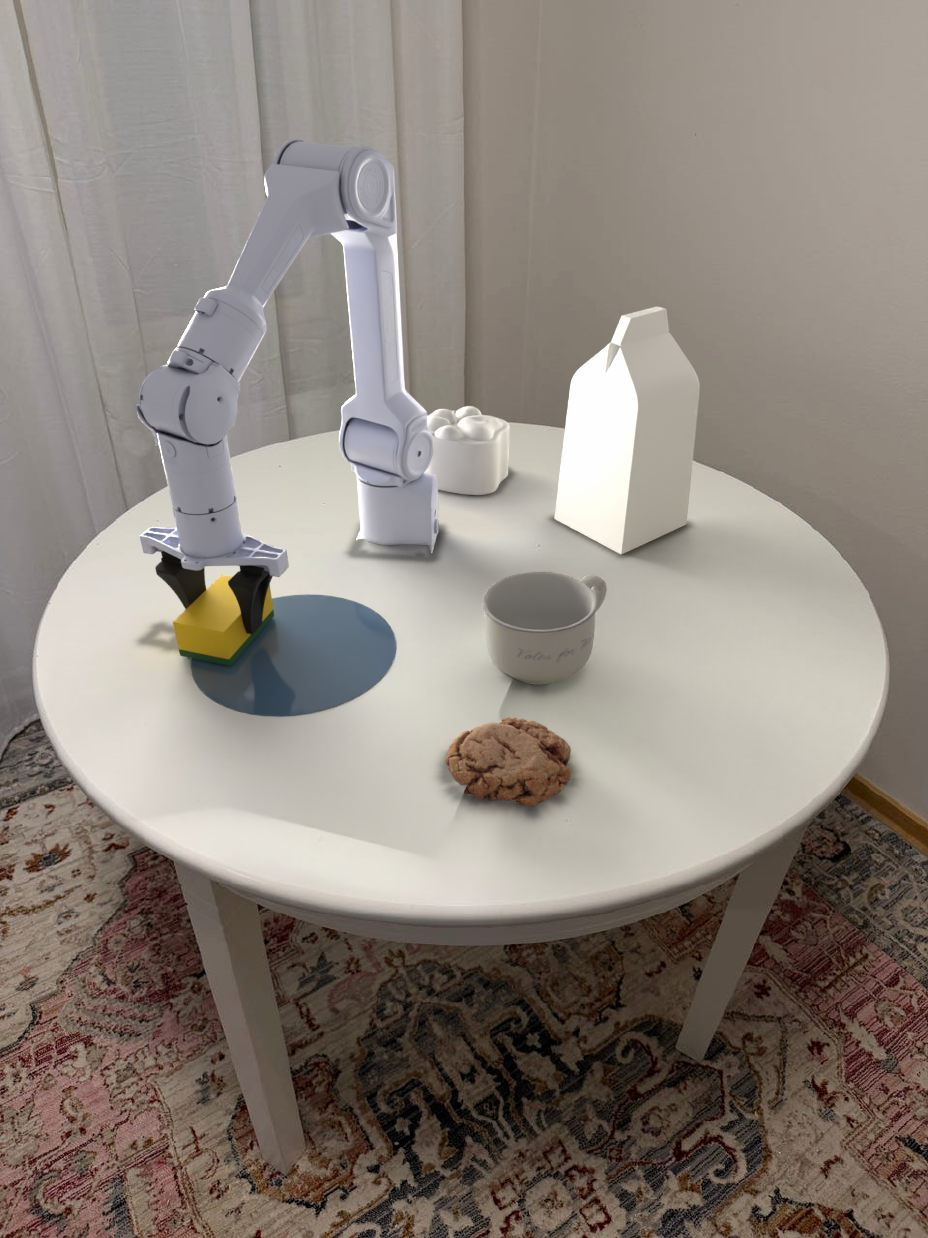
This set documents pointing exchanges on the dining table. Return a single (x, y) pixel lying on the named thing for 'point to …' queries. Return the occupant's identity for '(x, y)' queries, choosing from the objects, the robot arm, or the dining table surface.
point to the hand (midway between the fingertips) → (226, 623)
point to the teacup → (541, 624)
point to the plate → (303, 659)
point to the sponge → (216, 625)
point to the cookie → (510, 761)
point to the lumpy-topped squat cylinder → (468, 450)
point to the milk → (630, 437)
